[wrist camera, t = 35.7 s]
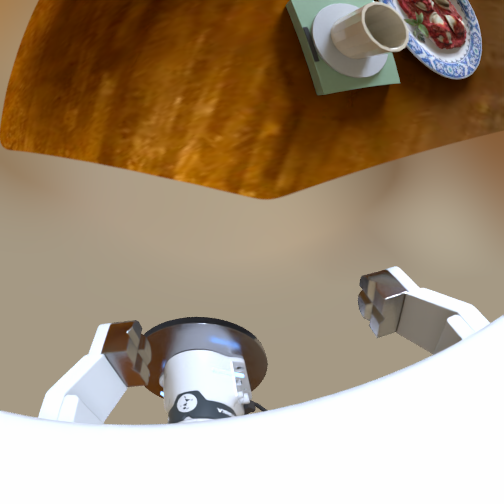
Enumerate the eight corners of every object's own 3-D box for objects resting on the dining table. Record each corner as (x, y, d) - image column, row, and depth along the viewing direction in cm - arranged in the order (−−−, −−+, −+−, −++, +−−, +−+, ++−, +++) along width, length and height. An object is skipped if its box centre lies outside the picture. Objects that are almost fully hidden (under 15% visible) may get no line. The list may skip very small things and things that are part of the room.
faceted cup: (377, 57, 28) (415, 51, 21) (338, 61, 28) (372, 52, 21) (364, 17, 25) (398, 3, 18) (324, 19, 25) (353, 1, 18)
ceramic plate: (430, -46, 18) (439, -50, 15) (488, 62, 30) (498, 63, 27) (336, -40, 21) (344, -47, 19) (418, 97, 33) (430, 98, 31)
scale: (390, 83, 32) (403, 83, 29) (316, 95, 32) (325, 94, 30) (364, 1, 25) (374, -5, 23) (285, 5, 26) (291, -3, 23)
